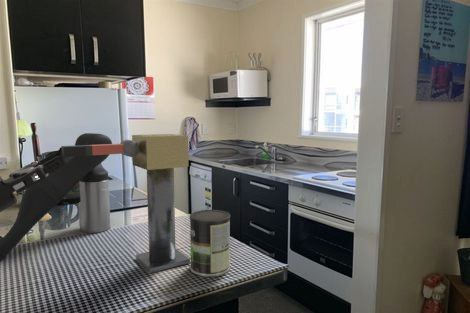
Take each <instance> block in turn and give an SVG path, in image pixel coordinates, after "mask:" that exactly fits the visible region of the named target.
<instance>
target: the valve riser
mask: <svg viewBox="0 0 470 313" xmlns="http://www.w3.org/2000/svg"><path fill="white" fill-rule="evenodd" d="M131 140H132V141H135V142H137V143H138V144H139V146H140V151H139V153H138V154H137V155H136V156H134V157H132V166H135V167H138V168H140V169H143V170H146V190H147V192H146V194H147V224H148V227H147V228H148V230H147V231H148V232H147V233H148V251H147V252H142V253H136V254H135V259H136V260H137V261H138V262H139V263H140V264H141V266H142V267H143V268H144V269H145V270H146V271H147V272H148V273H149V274H154V273H156V272H161V271H165V270H170V269H174V268H178V267H181V266H185V265H188V264H191V258H189V256H187V255H186V254H184V253H183V252H182V251H180V250H179V249H177V248H176V211H175V210H176V208H175V207H176V203H175V202H176V201H175V168H176V169H177V168H185V167H186V168H188V167H190V166H189V135H188V134H178V133H177V134H176V133H161V134H160V133H159V134H158V133H157V134H154V133H153V134H131Z"/></svg>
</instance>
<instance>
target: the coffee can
mask: <svg viewBox="0 0 470 313" xmlns="http://www.w3.org/2000/svg"><path fill="white" fill-rule="evenodd" d="M230 219H231V214H230V213H229V212H228V211H224V210H221V209H202V210H197V211H194V212H192V213H190V214H189V220H190V221H189V226H190V227H189V228H190V232H189V234H190V238H189V239H190V268H189V270H190V271H191V272H192V273H193V274H194V275H197V276H200V277H207V278H211V277H218V276H221V275H222V276H223V275H224V274H226V273H228V272H229V271H230V270H231V269H230V268H231V265H230V262H231V261H230V260H231V258H230V255H231V254H230V253H231V251H230V250H231V248H230V245H231V244H230V242H231V238H230V237H231V235H230V234H231V232H230V231H231V230H230V228H231V220H230Z"/></svg>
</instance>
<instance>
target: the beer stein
mask: <svg viewBox="0 0 470 313" xmlns="http://www.w3.org/2000/svg"><path fill="white" fill-rule="evenodd" d="M51 154H56V155H57V156H61V157H62V159H63V160H64V162H67V161H68V160H70V159H71V158H73V157H74V156H72V157H63V156H62V148H61V147H59V149H58V150H54V151H50V152H49V153H48V155H47V157H48V156H49V155H51ZM79 202H81V198H80V182H79V183H78V184H76V185H75V186H74V187H73V188H72V189H71V190H70V191H69V192H68V193H67V194H66V195H65V196H64V198H63V199H62V200H61V201H60V202H59V203H58V204H57V205H74V203H75V204H78V203H79Z"/></svg>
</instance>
